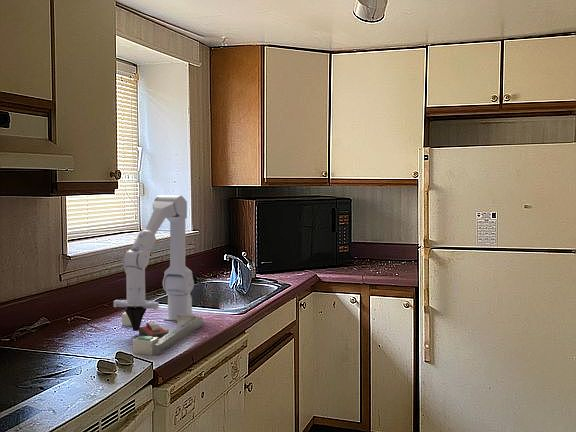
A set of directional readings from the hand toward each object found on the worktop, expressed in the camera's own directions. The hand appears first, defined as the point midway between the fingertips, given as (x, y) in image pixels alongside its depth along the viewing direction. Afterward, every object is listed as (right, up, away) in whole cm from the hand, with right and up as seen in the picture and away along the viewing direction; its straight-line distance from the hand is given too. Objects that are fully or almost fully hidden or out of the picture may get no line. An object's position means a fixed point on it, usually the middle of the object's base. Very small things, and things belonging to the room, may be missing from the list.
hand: (136, 330), depth 194 cm
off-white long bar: (+12, -2, -4) cm, 12 cm away
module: (-5, -1, +14) cm, 15 cm away
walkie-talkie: (+6, -2, 0) cm, 6 cm away
